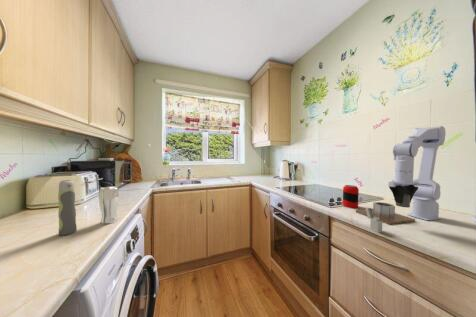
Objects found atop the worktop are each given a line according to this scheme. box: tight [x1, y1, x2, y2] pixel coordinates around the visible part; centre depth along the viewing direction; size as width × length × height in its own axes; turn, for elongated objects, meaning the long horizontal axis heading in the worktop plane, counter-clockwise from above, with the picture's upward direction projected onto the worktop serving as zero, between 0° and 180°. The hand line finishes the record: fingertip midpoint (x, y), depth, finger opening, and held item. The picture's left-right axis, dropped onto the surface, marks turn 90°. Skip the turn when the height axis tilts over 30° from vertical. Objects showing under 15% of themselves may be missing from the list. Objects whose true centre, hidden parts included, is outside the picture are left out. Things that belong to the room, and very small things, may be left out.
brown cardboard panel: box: [355, 201, 416, 225], centre depth 85 cm, size 16×16×6 cm
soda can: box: [342, 184, 360, 209], centre depth 101 cm, size 8×8×12 cm
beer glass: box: [98, 186, 120, 225], centre depth 77 cm, size 7×7×15 cm
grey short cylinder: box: [395, 194, 411, 209], centre depth 75 cm, size 4×4×5 cm
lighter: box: [365, 207, 383, 234], centre depth 71 cm, size 7×2×8 cm, turn 179°
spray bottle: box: [57, 179, 78, 236], centre depth 65 cm, size 5×5×20 cm
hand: (402, 202), depth 75 cm, fingers closed on grey short cylinder, 4 cm apart
